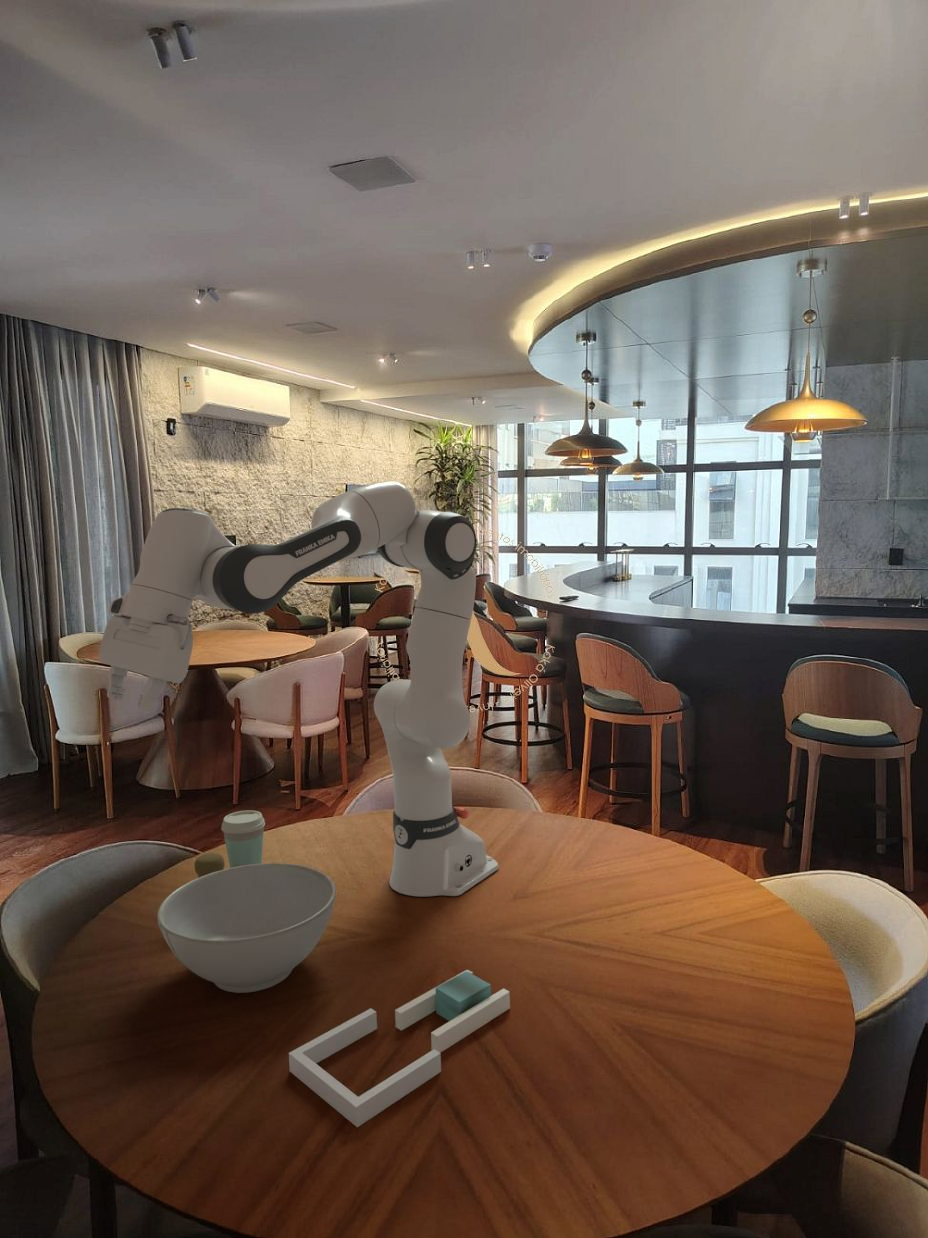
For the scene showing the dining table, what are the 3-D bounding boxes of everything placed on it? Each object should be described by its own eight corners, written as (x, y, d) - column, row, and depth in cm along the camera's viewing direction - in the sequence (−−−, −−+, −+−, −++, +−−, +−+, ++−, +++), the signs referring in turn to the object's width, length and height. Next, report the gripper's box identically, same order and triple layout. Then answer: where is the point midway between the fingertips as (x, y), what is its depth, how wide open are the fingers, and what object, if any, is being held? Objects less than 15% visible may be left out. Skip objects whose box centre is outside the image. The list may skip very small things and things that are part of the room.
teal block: (467, 996, 119) (466, 971, 119) (491, 1011, 116) (490, 984, 115) (436, 1014, 115) (435, 988, 115) (460, 1029, 112) (459, 1002, 111)
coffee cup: (276, 867, 167) (272, 811, 166) (252, 885, 159) (248, 826, 158) (240, 863, 170) (237, 807, 168) (215, 880, 162) (211, 822, 160)
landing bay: (371, 1025, 113) (370, 1008, 112) (441, 1071, 103) (440, 1053, 102) (289, 1071, 104) (288, 1053, 103) (357, 1127, 93) (356, 1107, 93)
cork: (235, 906, 150) (231, 849, 149) (222, 922, 144) (218, 862, 143) (203, 905, 151) (199, 848, 150) (189, 921, 145) (185, 862, 144)
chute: (467, 985, 122) (467, 969, 122) (510, 1008, 116) (509, 991, 115) (395, 1027, 112) (394, 1010, 112) (437, 1054, 106) (437, 1036, 106)
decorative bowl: (123, 1002, 120) (116, 924, 119) (236, 919, 145) (232, 854, 144) (275, 1039, 110) (270, 954, 109) (369, 943, 135) (366, 874, 134)
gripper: (213, 624, 115) (185, 719, 113) (143, 612, 128) (117, 697, 127) (173, 612, 110) (143, 711, 108) (105, 601, 124) (77, 689, 122)
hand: (128, 703), depth 118 cm, fingers open, 8 cm apart
